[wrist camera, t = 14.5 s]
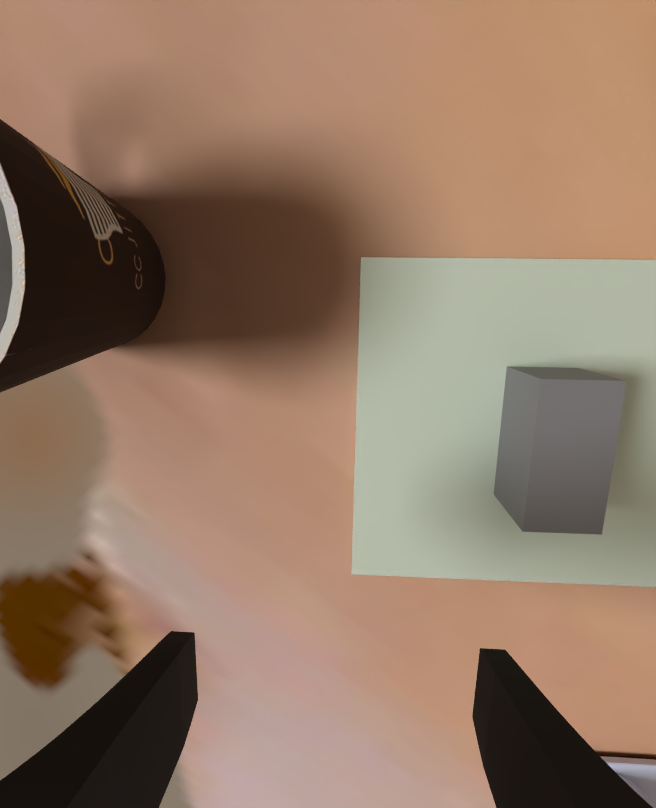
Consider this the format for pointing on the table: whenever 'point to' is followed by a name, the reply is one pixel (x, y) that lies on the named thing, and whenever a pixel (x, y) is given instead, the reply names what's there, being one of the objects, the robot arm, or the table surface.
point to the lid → (506, 420)
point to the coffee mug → (66, 266)
